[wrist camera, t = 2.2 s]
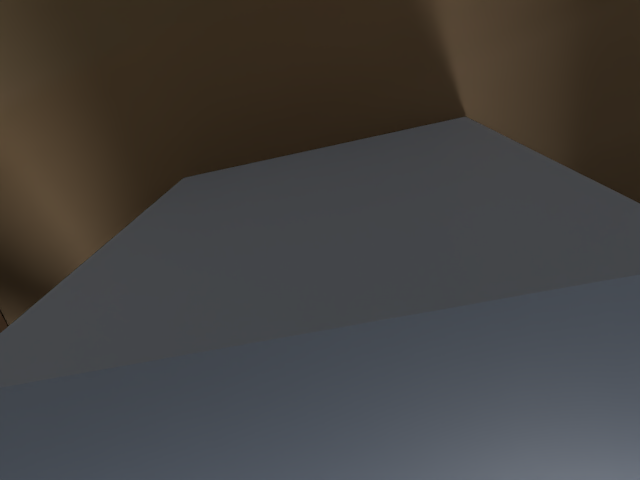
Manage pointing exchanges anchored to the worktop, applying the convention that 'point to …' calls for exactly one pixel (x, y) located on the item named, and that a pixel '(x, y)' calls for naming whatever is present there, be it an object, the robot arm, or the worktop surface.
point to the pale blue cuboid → (344, 325)
